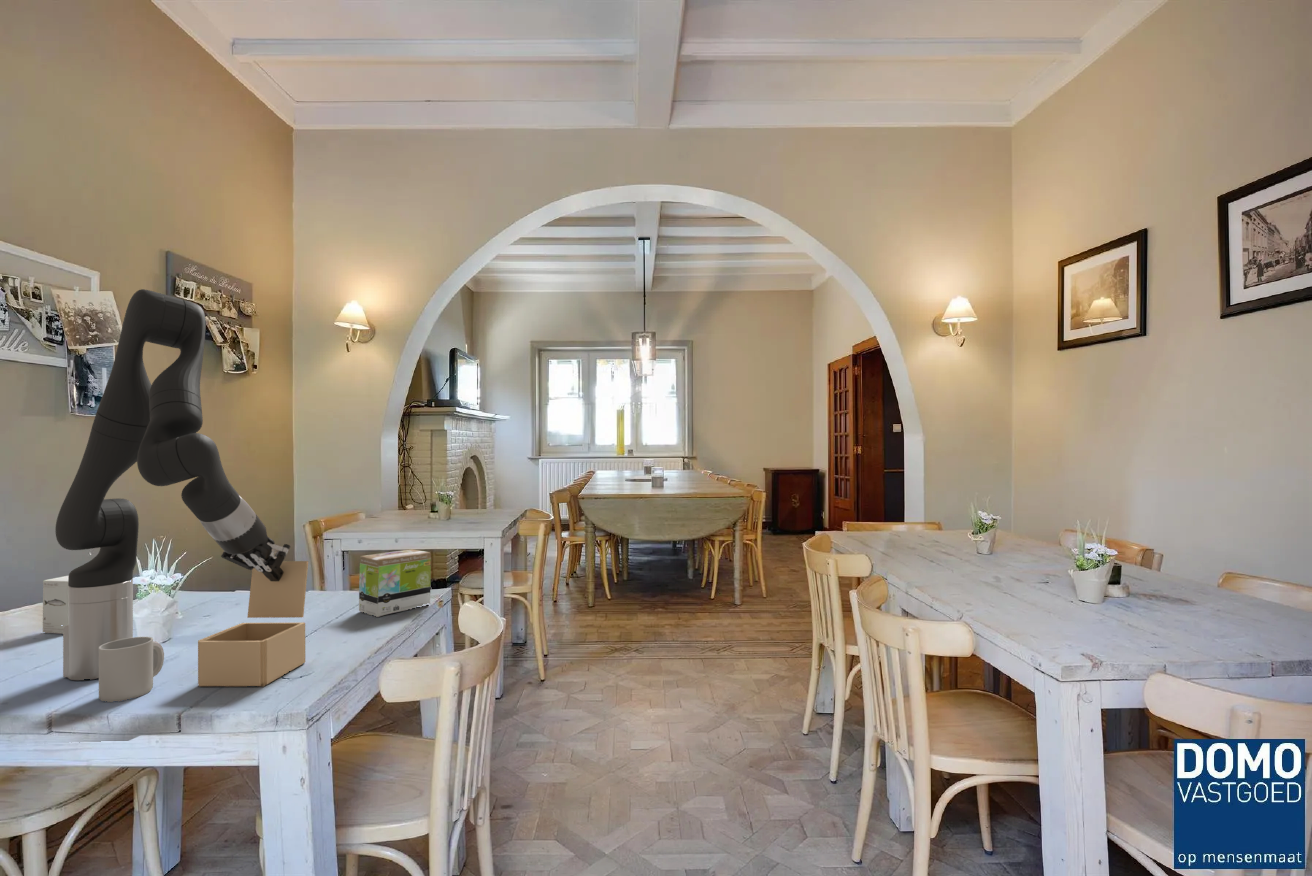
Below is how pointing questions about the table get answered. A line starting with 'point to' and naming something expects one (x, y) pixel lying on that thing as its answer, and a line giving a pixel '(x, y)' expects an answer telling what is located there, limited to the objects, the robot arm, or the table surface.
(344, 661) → the table surface
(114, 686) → the cup
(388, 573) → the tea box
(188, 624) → the table surface
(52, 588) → the supplement box
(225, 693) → the table surface
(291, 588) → the flap
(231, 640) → the carton
